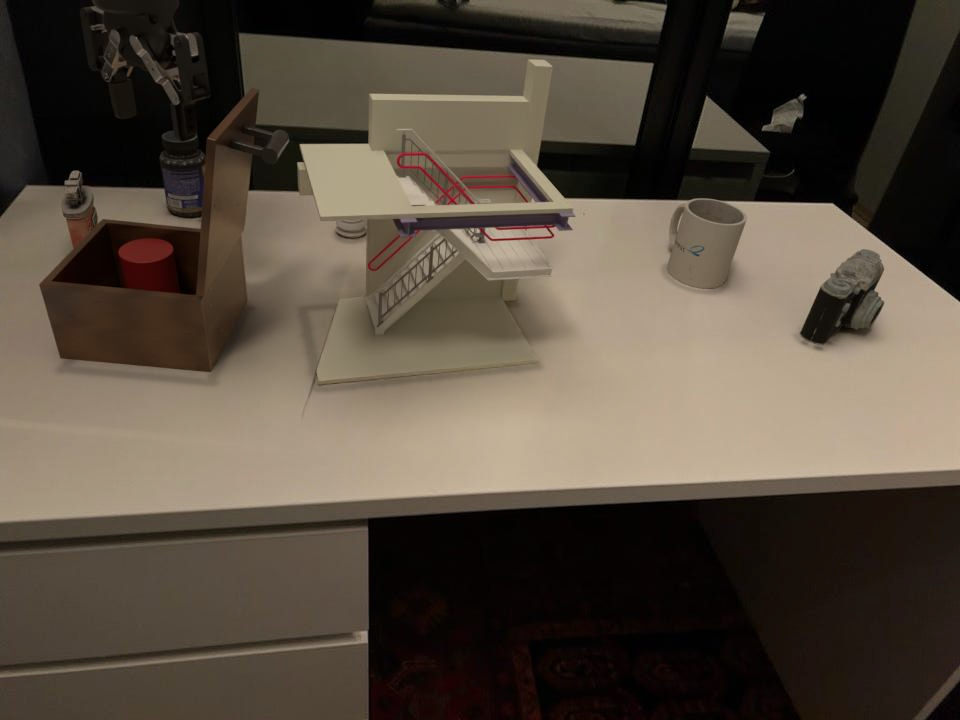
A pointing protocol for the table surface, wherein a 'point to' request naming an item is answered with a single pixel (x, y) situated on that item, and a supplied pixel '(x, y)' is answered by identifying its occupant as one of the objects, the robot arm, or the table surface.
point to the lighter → (78, 208)
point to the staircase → (438, 230)
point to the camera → (846, 298)
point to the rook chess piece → (351, 228)
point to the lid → (230, 183)
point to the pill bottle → (182, 175)
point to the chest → (142, 302)
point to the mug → (704, 241)
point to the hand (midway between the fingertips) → (155, 127)
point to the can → (149, 265)
